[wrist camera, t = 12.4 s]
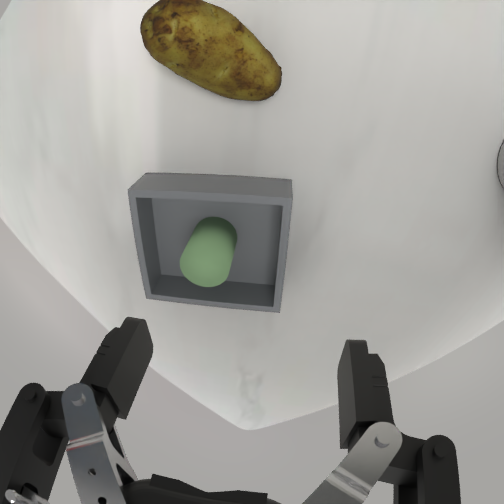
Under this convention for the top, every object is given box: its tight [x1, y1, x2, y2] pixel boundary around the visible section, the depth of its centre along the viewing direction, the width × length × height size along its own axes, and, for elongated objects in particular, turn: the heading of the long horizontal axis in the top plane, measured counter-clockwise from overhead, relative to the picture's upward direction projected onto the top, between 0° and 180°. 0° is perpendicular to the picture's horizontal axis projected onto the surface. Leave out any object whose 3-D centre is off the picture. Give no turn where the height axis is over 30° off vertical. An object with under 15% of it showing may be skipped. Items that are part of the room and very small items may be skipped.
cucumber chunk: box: [180, 217, 237, 287], centre depth 34 cm, size 5×5×6 cm
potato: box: [140, 0, 282, 101], centre depth 23 cm, size 8×13×8 cm, turn 33°
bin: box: [128, 173, 293, 313], centre depth 35 cm, size 16×14×5 cm
